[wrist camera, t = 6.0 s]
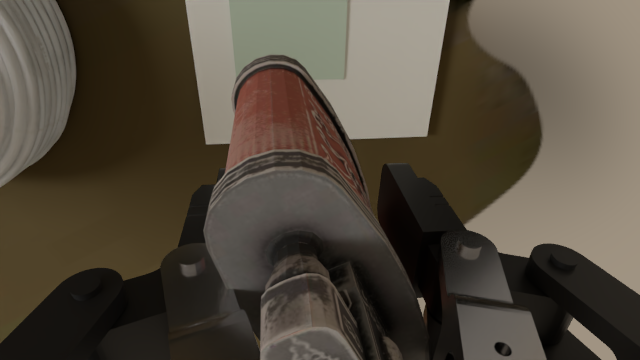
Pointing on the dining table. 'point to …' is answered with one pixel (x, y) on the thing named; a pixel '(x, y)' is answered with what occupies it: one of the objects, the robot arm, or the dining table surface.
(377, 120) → the board
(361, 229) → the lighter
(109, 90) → the dining table surface
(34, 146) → the cable
